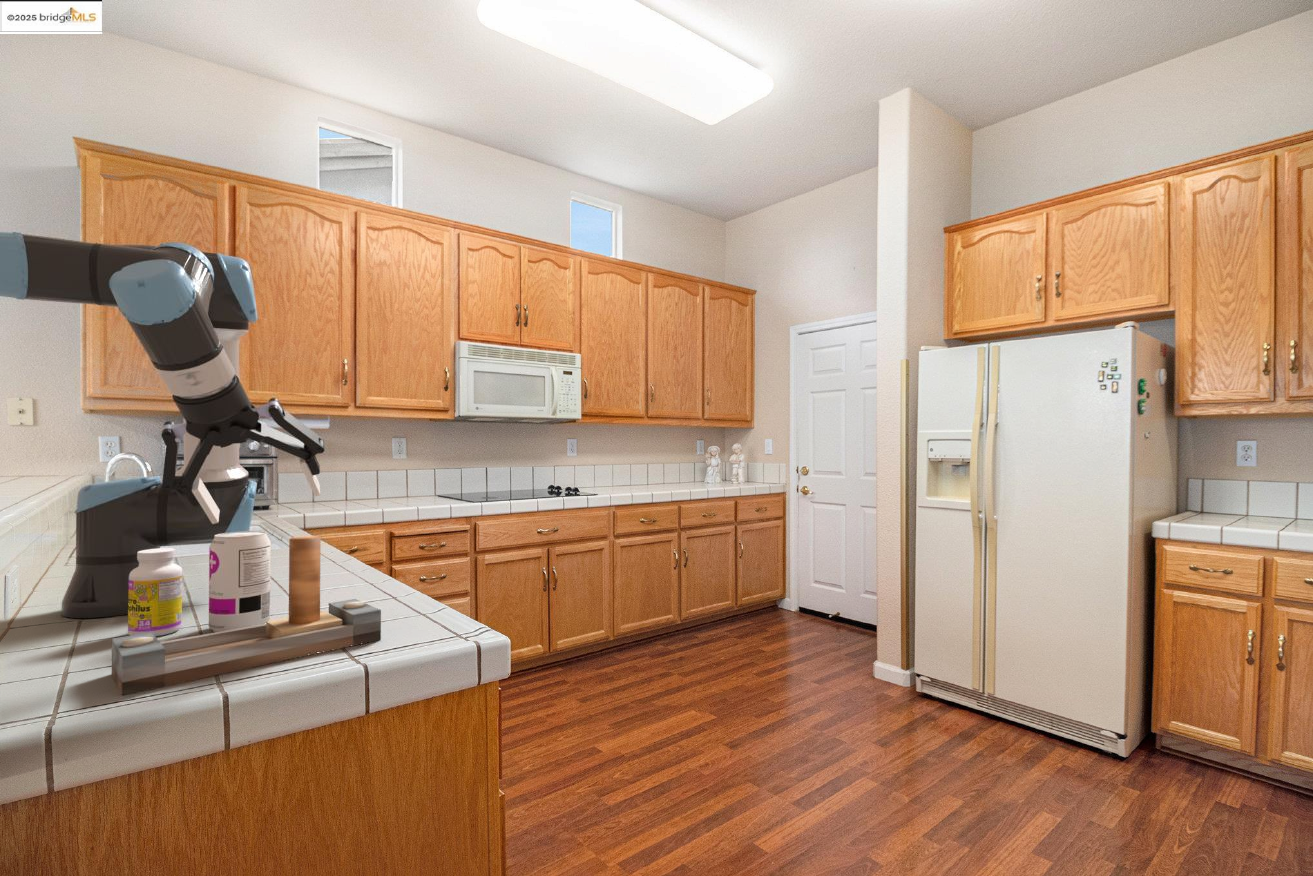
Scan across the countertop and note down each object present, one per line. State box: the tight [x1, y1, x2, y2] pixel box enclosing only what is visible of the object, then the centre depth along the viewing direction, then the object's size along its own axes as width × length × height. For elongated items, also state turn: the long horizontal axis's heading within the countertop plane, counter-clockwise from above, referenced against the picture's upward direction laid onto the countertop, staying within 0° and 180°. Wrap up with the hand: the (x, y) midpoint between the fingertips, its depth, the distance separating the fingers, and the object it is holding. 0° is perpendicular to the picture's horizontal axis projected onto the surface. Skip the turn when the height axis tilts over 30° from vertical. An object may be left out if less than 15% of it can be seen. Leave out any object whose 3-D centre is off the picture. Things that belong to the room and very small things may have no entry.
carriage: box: [266, 535, 342, 639], centre depth 93 cm, size 7×8×14 cm
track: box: [111, 598, 382, 695], centre depth 89 cm, size 10×30×5 cm, turn 136°
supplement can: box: [208, 530, 271, 633], centre depth 103 cm, size 8×8×15 cm
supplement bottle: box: [127, 547, 183, 638], centre depth 100 cm, size 7×7×13 cm
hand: (268, 503), depth 95 cm, fingers open, 13 cm apart
